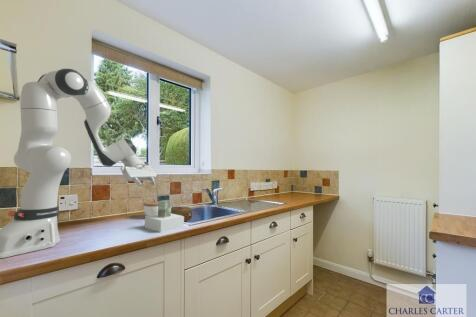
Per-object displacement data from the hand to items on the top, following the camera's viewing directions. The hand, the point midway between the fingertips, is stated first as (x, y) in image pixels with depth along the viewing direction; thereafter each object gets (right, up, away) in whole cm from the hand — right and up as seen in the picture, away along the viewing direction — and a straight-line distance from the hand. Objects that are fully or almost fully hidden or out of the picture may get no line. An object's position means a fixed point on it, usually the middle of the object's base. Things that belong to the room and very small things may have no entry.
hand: (147, 184), depth 124 cm
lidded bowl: (-3, -22, +17) cm, 28 cm away
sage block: (+11, -16, -5) cm, 20 cm away
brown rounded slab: (+16, -23, +10) cm, 29 cm away
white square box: (+11, -22, -5) cm, 25 cm away
